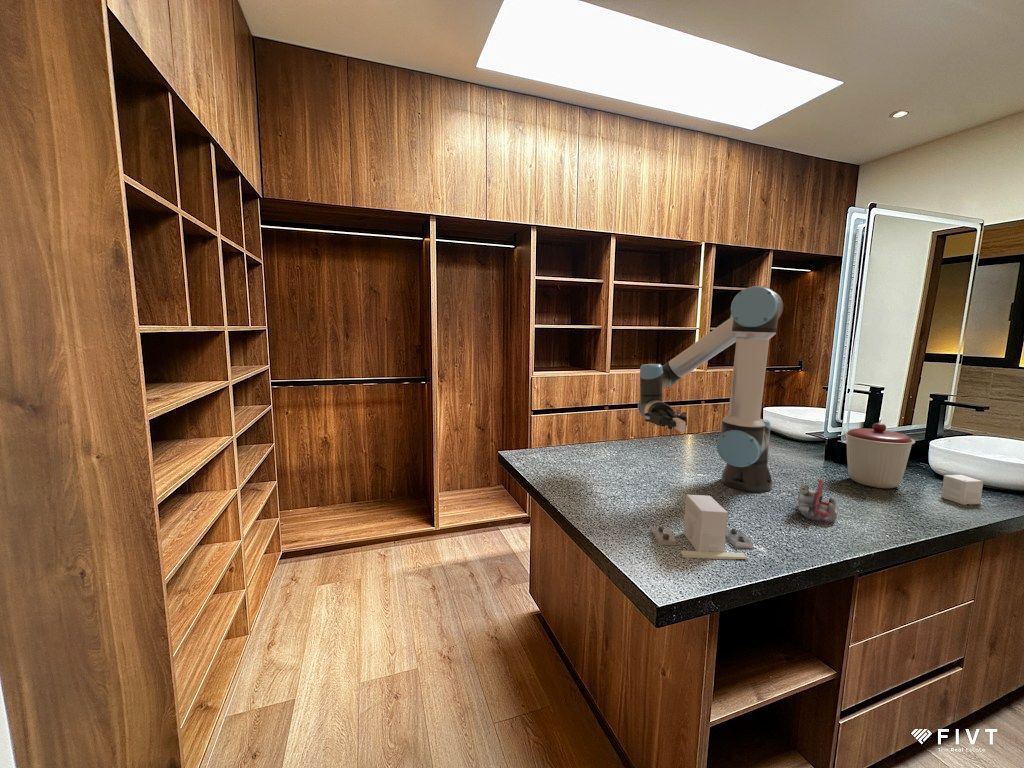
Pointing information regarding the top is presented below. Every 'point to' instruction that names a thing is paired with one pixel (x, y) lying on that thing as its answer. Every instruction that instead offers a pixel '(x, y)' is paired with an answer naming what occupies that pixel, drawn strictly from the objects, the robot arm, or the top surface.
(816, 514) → the grey red lumpy piece
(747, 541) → the block
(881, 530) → the top surface
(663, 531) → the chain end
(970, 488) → the skincare box
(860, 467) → the canister
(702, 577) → the top surface
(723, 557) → the cream long thin bar
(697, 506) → the skincare box
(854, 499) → the top surface
